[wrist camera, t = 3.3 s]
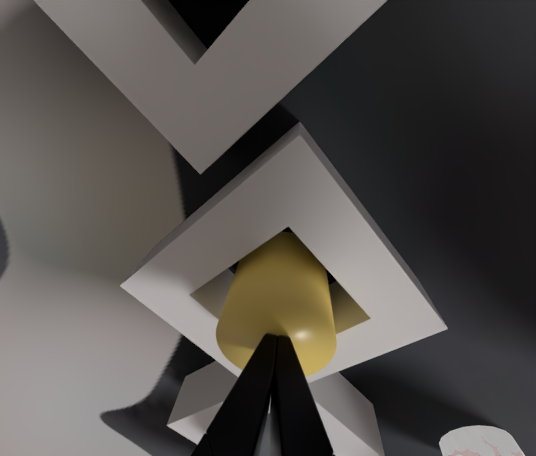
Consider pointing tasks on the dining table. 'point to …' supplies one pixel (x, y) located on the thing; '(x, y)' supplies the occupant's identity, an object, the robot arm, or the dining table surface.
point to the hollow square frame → (311, 234)
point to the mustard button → (279, 304)
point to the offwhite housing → (207, 61)
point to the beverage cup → (479, 442)
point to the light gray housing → (221, 382)
